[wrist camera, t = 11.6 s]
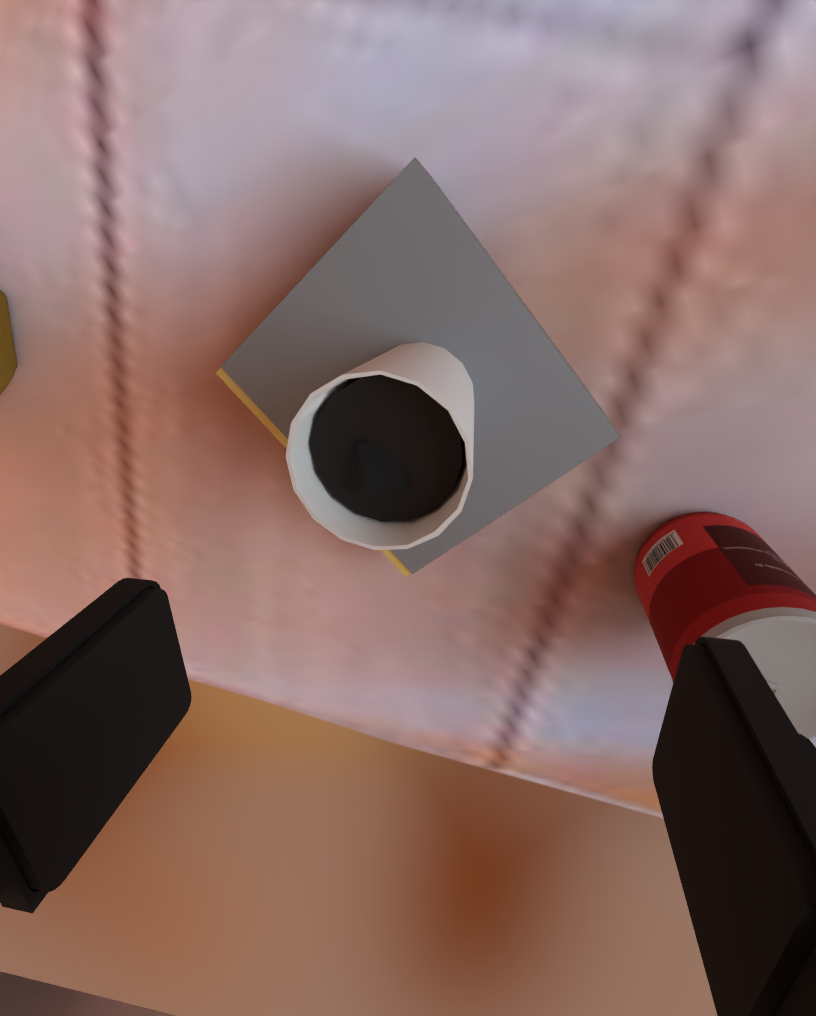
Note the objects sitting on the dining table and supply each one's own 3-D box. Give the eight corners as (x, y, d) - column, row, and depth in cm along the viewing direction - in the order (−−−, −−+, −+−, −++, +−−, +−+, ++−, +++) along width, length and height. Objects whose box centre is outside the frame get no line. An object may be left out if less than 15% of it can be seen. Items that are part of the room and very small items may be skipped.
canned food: (630, 616, 36) (678, 747, 26) (631, 512, 33) (685, 618, 23) (753, 611, 34) (853, 750, 25) (767, 502, 31) (887, 612, 21)
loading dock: (603, 411, 31) (620, 437, 26) (417, 539, 36) (405, 578, 32) (429, 174, 27) (415, 157, 23) (253, 358, 33) (213, 373, 28)
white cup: (475, 466, 28) (462, 562, 19) (355, 452, 29) (289, 538, 20) (491, 338, 25) (485, 380, 16) (357, 326, 26) (281, 360, 17)
